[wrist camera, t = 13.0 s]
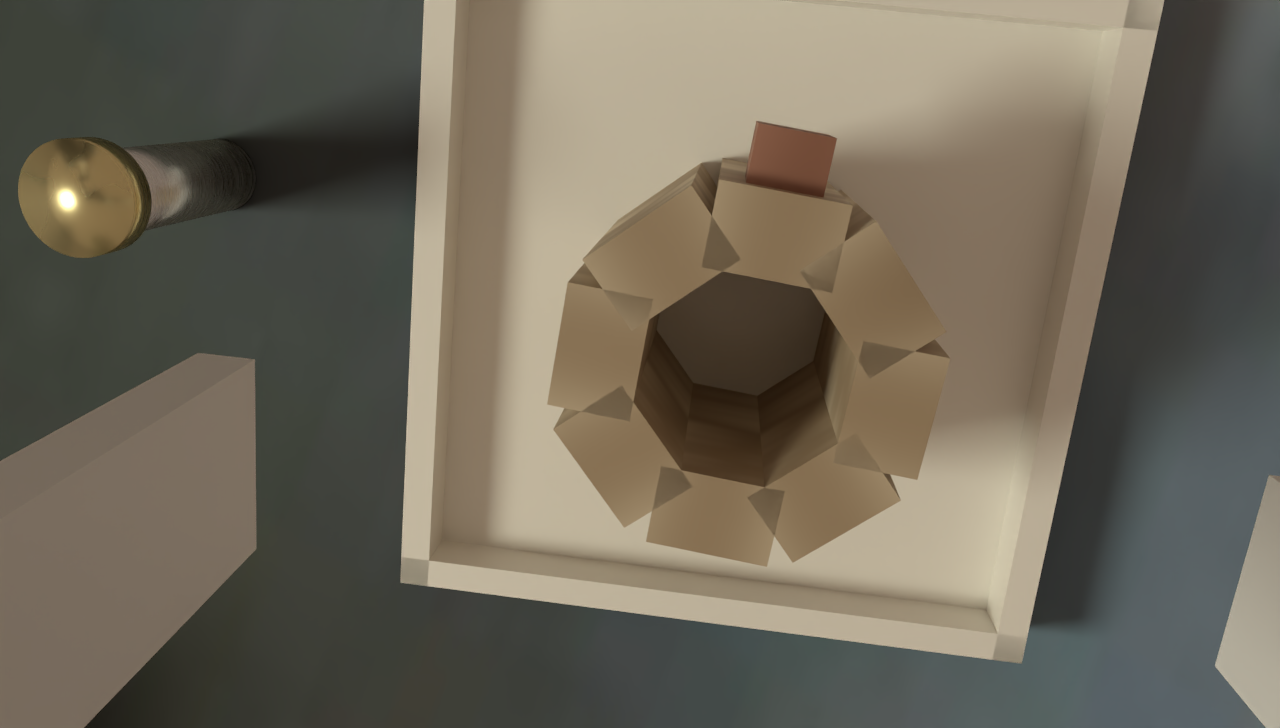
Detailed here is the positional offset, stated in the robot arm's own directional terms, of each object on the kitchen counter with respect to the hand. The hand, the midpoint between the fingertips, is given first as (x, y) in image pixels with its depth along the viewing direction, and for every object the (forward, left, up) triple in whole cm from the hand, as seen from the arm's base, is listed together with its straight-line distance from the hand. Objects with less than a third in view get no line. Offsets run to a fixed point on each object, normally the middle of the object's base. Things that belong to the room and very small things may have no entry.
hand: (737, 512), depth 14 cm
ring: (+1, 0, -15) cm, 15 cm away
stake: (-2, -15, -16) cm, 22 cm away
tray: (0, 0, -16) cm, 16 cm away
